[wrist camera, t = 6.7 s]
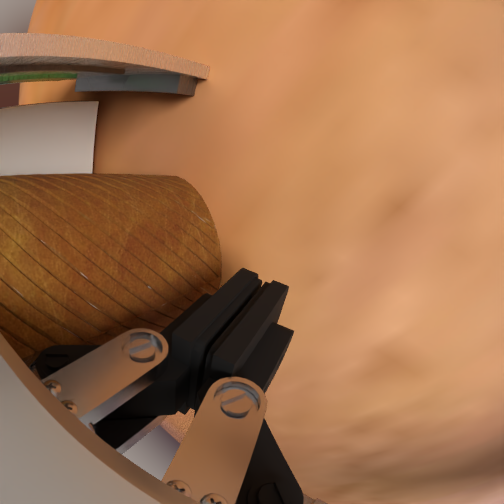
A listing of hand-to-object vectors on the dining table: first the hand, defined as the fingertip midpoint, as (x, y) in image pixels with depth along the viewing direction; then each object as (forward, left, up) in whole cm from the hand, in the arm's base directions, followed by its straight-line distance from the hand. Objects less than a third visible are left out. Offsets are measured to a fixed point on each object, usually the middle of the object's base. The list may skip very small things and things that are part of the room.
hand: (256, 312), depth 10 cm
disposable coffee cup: (+5, 0, -2) cm, 5 cm away
